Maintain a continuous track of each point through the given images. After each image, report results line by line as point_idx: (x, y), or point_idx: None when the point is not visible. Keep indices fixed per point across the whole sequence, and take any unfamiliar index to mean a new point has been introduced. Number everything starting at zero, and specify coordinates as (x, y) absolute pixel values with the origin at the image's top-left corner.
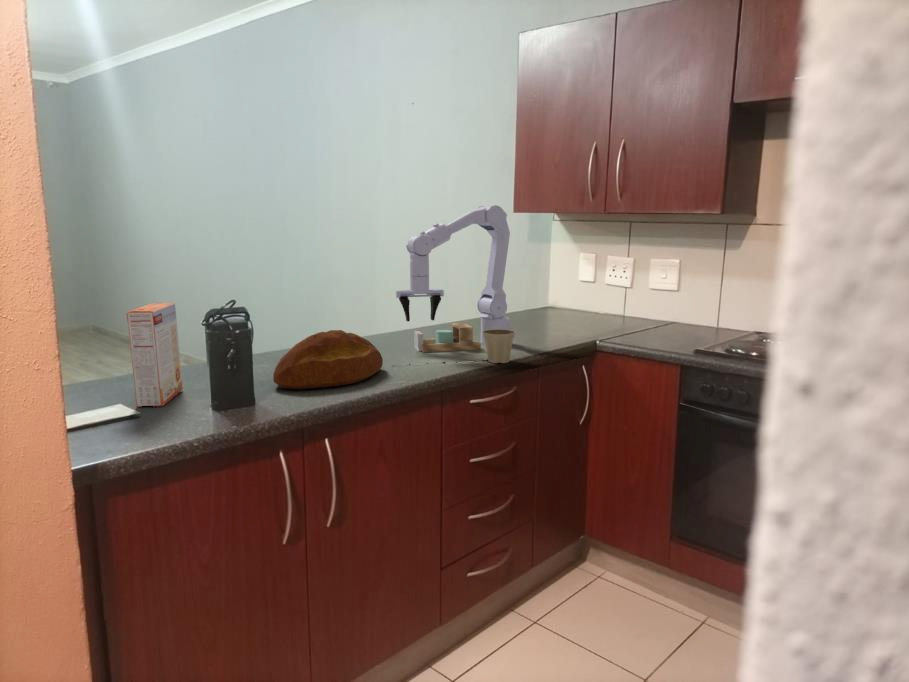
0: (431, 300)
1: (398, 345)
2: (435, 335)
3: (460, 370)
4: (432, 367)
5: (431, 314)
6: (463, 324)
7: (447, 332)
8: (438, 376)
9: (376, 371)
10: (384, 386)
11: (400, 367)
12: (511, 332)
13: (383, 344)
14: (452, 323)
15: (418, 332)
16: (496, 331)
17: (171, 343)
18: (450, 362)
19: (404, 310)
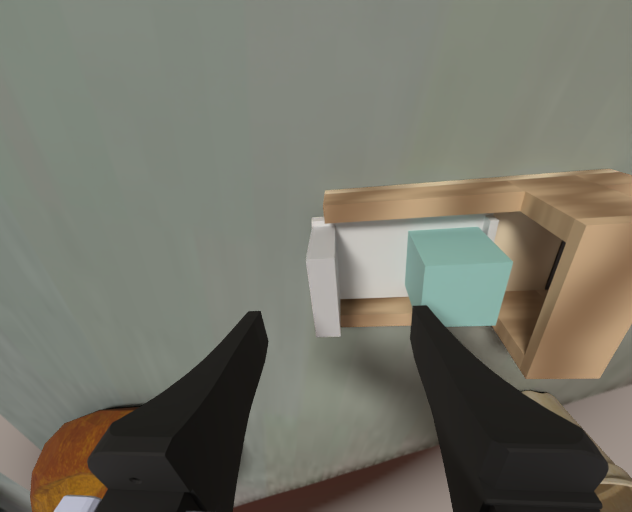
0: (465, 458)
1: (239, 75)
2: (417, 255)
3: (391, 447)
4: (337, 421)
5: (421, 349)
6: (621, 293)
7: (465, 325)
8: (336, 467)
9: None
10: (242, 487)
11: (263, 409)
12: None
13: (150, 22)
14: (580, 238)
15: (323, 298)
16: (606, 475)
17: None
18: (393, 393)
19: (211, 361)
